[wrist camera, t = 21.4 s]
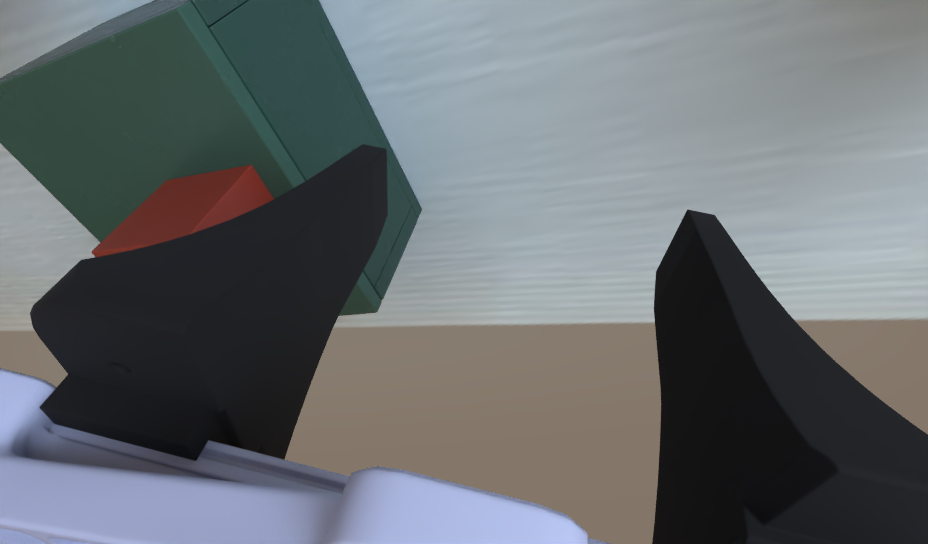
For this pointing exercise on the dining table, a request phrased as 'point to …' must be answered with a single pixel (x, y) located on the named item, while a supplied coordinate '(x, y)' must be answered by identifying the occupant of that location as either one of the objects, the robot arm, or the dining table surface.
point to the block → (188, 208)
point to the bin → (295, 96)
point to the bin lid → (142, 123)
